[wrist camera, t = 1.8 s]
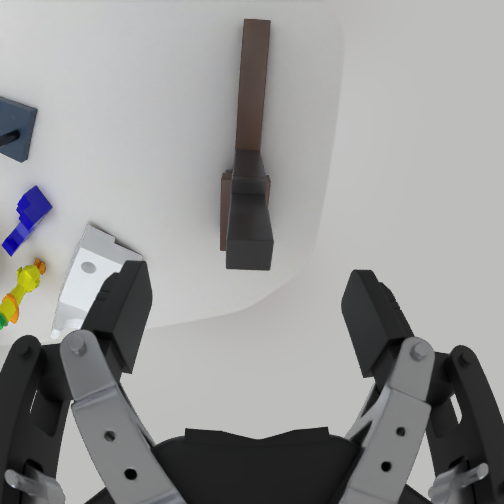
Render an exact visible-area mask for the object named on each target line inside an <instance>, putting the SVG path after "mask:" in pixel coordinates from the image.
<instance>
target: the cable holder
mask: <svg viewBox="0 0 504 504" xmlns="http://www.w3.org/2000/svg"><path fill="white" fill-rule="evenodd" d="M17 205H18V207H17V209H16V210H17V212H18V213H19V214H20V217H19V220H20V221H21V222H20V223H19V224H18V226H17V227H16V228H15V229H14V230H13V232H12V233H11V234H10V235H9V236H8V237H7V238H6V239H5V241H4V242H3V244H2V246H3V248H4V249H5V250H6V251H7V253H8V254H9V255H10V256H12V255H13V254H14V253H15V252H16V251H17V250H18V249H19V247H20V246H21V245H22V244H23V243H24V242H25V241H26V240H27V239H28V237H29V236H30V235H31V233H32V232H33V231H34V230H35V228H36V227H37V226H38V224H39V223H40V222H41V221H42V220H43V218H44V217H45V216H46V215H47V213H48V212H49V211H50V210H51V209H52V208H53V207H52V206H51V205H50V203H49V202H48V201H47V199H46V198H45V197H44V195H43V194H42V193H41V191H40V190H39V189H38V187H37V186H35V187H33V188H32V189H31V190H29V191H28V192H27V193H25V194H24V195H23V196H22V198H21V199H20V201H19V203H18V204H17Z"/></svg>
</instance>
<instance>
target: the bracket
mask: <svg viewBox="0 0 504 504" xmlns="http://www.w3.org/2000/svg"><path fill="white" fill-rule="evenodd" d="M114 242H115V237H113V236H111V235H109V234H107V233H104V232H102V231H100V230H98V229H96V228H94V227H92V226H90V225H87V228H86V230H85V232H84V234H83V236H82V238H81V241H80V243H79V245H78V247H77V250H76V252H75V254H74V257H73V259H72V262H71V264H70V267H69V269H68V272H67V274H66V277H65V280H64V282H63V285H62V288H61V291H60V295H59V299H58V303H57V307H56V312H55V316H54V321H53V326H52V332H51V338H53V339H56V340H57V339H58V336H59V334H60V332H61V331H63V330H64V329H66V328H77V329H79V330H80V328H81V326H82V324H83V322H84V320H85V318H86V316H87V314H88V312H89V310H90V308H91V306H92V304H93V302H94V300H95V298H96V296H97V294H98V292H100V288H101V286H102V284H103V283H104V281H105V280H106V279H107V278H108V277H109V276H110V275H111V274H112V273H114V272H118V273H119V272H120V270H121V268H122V266H123V264H124V263H125V261H126V260H136V261H141V260H142V255H140V254H137V253H135V252H133V251H130V250H128V249H126V248H124V247H121V246H119V245H117V244H115V243H114Z"/></svg>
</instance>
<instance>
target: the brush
mask: <svg viewBox="0 0 504 504" xmlns="http://www.w3.org/2000/svg"><path fill="white" fill-rule="evenodd" d="M270 23H271V21H270V20H258V19H244V28H243V40H242V53H241V66H240V80H239V95H238V111H237V128H236V146H235V156H234V164H233V171H226V172H225V173H223V174H222V178H221V215H220V251H226V269H240V270H266V271H269V270H270V267H271V260H272V252H273V244H274V240H273V234H272V228H271V223H270V217H269V211H268V202H269V193H270V183H271V181H270V177H269V175H266V174H265V172H264V167H263V163H262V158H261V154H260V144H261V132H262V120H263V108H264V95H265V83H266V71H267V59H268V47H269V35H270Z"/></svg>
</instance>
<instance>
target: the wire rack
mask: <svg viewBox="0 0 504 504" xmlns="http://www.w3.org/2000/svg"><path fill="white" fill-rule="evenodd" d="M36 113H37V109H35V108H32V107H29V106H26V105H23V104H20V103H17V102H14V101H11V100H8V99H5V98H2V97H0V153H2V154H4V155H6V156H8V157H10V158H12V159H14V160H17V161H19V162H21V163H22V162H24V161H25V160H27V158H28V152H29V146H30V140H31V135H32V130H33V126H34V121H35V117H36Z"/></svg>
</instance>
